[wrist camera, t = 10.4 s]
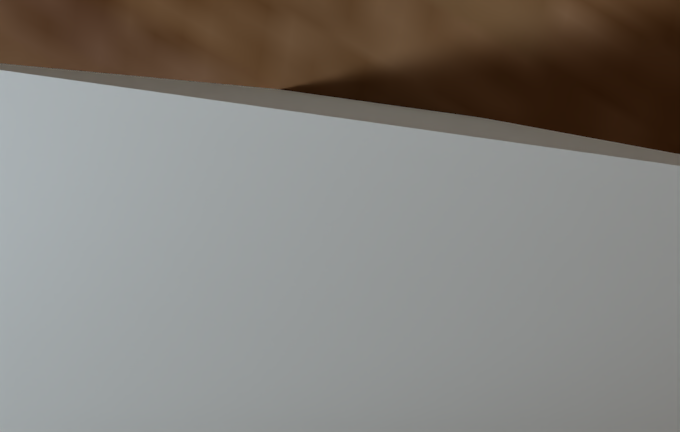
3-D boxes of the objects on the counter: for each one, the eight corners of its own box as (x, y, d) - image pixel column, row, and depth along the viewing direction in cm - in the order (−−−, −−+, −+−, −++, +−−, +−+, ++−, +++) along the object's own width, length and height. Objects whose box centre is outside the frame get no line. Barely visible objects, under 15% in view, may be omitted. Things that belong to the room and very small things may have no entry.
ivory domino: (279, 89, 13) (-135, 50, 3) (481, 117, 13) (950, 204, 2) (271, 169, 14) (-111, 419, 3) (465, 197, 14) (801, 574, 3)
